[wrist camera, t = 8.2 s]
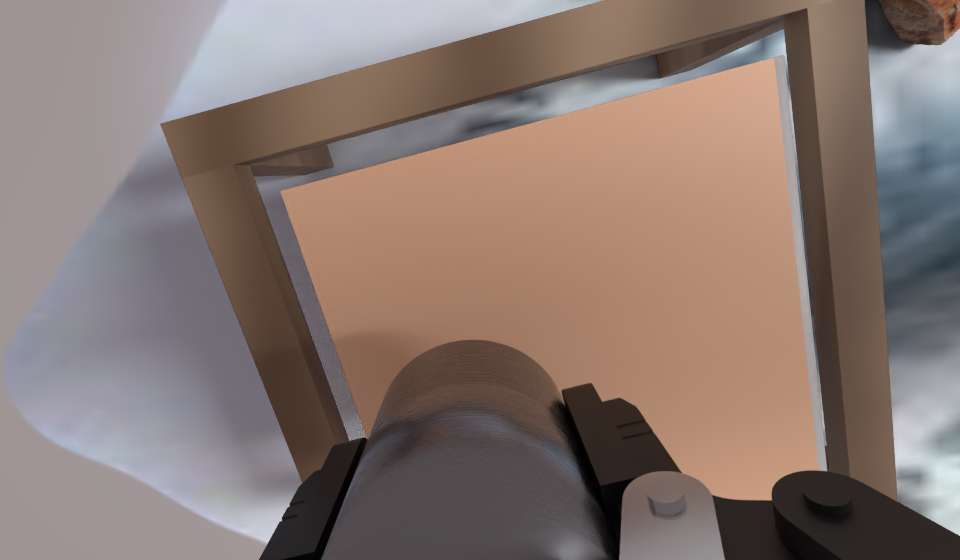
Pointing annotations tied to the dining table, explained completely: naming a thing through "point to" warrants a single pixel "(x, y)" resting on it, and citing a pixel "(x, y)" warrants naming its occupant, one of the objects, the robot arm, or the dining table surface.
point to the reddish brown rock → (923, 19)
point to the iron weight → (472, 467)
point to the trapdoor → (597, 267)
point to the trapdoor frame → (534, 62)
